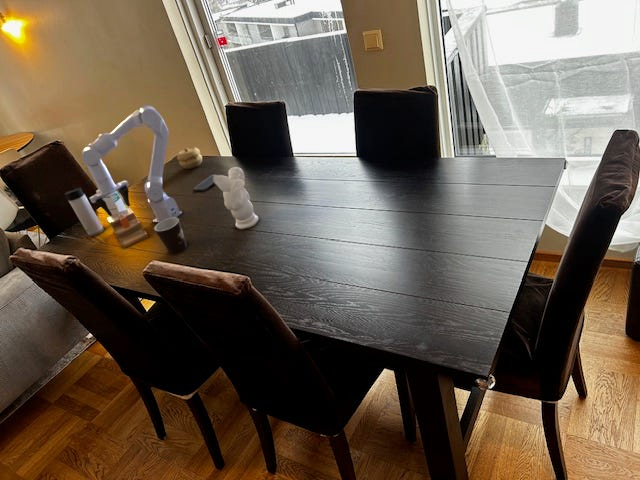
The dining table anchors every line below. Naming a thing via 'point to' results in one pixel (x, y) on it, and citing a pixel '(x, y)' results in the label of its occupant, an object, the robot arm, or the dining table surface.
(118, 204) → the syrup box
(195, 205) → the dining table surface
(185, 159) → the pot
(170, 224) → the coffee mug
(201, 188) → the cell phone
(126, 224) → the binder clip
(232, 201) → the cherub figurine
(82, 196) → the travel mug
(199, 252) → the dining table surface
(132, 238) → the step shelf
